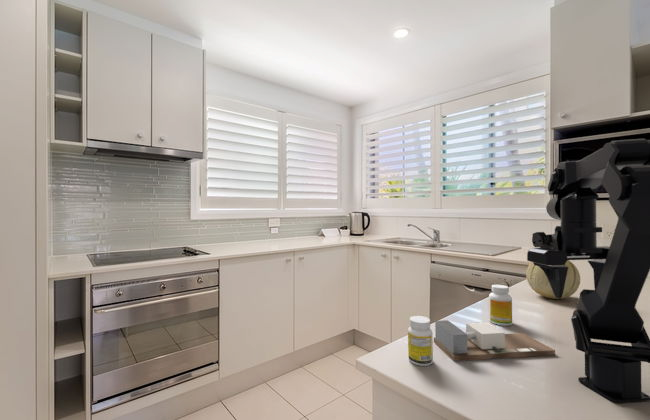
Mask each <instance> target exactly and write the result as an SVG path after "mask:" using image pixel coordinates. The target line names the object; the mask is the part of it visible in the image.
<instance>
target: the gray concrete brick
mask: <svg viewBox="0 0 650 420" xmlns="http://www.w3.org/2000/svg"><path fill="white" fill-rule="evenodd" d="M434 323H435V326H434V327H435V328H434V330H435V337H434V338H436V339H437V340H438V341H439V342H440V343H441V344H442V345H443V346H444V347H445V348H446V349H448V350H449V351H450V352H451V353H452V354H453V355H460V354H467V334H466V331H463V330H462V329H460V328H459V327H458V326H456V325H455V324H454V323H452V322H451V321H450V320H448V319H447V320H435V321H434Z"/></svg>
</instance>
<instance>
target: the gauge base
mask: <svg viewBox="0 0 650 420" xmlns="http://www.w3.org/2000/svg"><path fill="white" fill-rule="evenodd" d="M433 343H434V344H435V345H436V346H437V347H438V348H439V349H440V350H441V351H443V352H444V354H446V355H447V356H448V357H449V358H450V359H451V360H452V361H453V362H461V361H476V360H477V361H478V360H490V359H489V358H497V359H511V357H514V358H526V357H527V358H528V357H530V358H531V357H543V356H544V357H545V356H555V355H556V350H555V349H553V348H551V347H549V345H546V344H544V343H542V342H541V341H539V340H537V339H535V338H533V337H532V336H529V335H528V334H526V333H524V332H517V333H516V332H515V333H505V348H498V349H499V350H501V352H499V353H498V352H497V351H496V350H494V349H481V348H480V347H478V346H477V345H476V344H474V343H473V342H472V341H470V340H467V354H460V355H453V354H452V353H451V352H450V351H449V350H448V349H446V348H445V347H444V346H443V345H442V344H441V343H440V342H439V341H438V340H437V339H436V338H435V337H433Z"/></svg>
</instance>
